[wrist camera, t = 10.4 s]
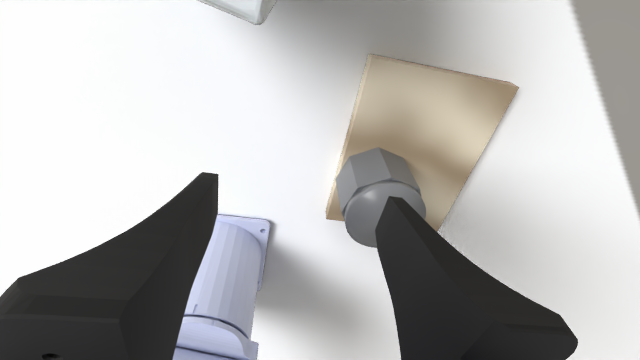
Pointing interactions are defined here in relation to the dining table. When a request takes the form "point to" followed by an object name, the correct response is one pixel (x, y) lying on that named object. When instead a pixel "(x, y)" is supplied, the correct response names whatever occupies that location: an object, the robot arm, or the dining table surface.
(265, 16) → the supplement box
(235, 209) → the dining table surface
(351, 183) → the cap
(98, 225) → the dining table surface
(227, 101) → the dining table surface
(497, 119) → the board
